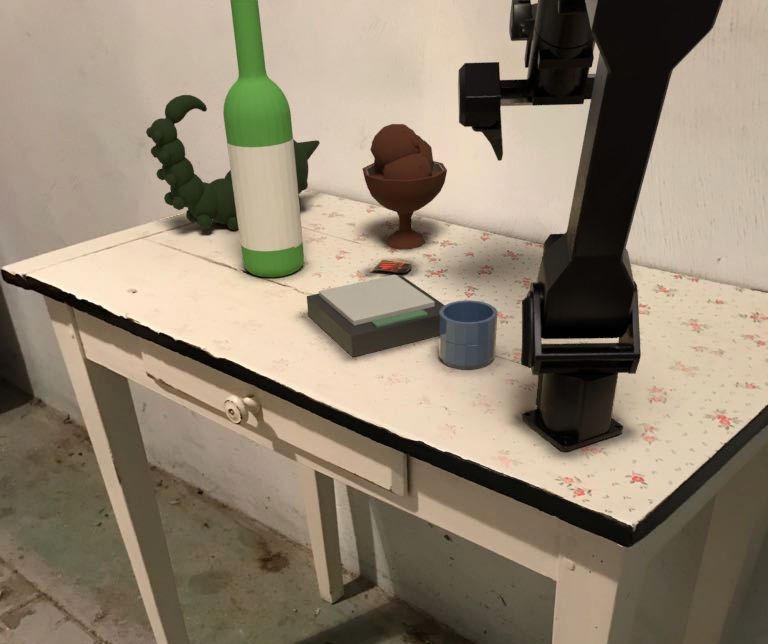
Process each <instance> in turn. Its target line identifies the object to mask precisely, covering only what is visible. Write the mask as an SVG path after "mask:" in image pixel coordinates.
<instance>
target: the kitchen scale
mask: <svg viewBox="0 0 768 644" xmlns="http://www.w3.org/2000/svg"><path fill="white" fill-rule="evenodd" d="M306 305H307V315H308V317H309V318H310V319H311V320H312V321H313V322H314V323H315V324H317V325H318V326H319V327H320V328H321V329H322V330H323V331H324V332H325V333H326V334H327V335H328V336H330V338H332V339H333V340H334V341H335V342H336V343H337V344H338V345H339V346H340V347H342V349H344V350H345V351H346V353H348V354H349V356H351V357H352V358H355V357H359V356H363V355H367V354H370V353H374V352H378V351H383V350H387V349H390V348H395V347H398V346H402V345H406V344H410V343H414V342H418V341H422V340H427V339H430V338H435V337H439V311H440V309H441V308H442V307H443V306H445V305H446V304H444V303H442V302H441V301H440V300H438V299H437V298H435V297H434V296H432V295H431V294H429V293H428V292H426V291H425V290H424V289H422V288H420V287H419V286H417V285H416V284H415V283H414V282H412V281H410V280H409V279H408V278H406V277H405V276H403V275H397V274H391V275H387V276H382V277H378V278H377V277H376V278H372V279H367V280H364V281H363V280H362V281H359V282H354V283H350V284H345V285H341V286H336V287H332V288H326V289H323V290H319V291H318V293H314V294H311V295H306Z"/></svg>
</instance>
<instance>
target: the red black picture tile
mask: <svg viewBox="0 0 768 644" xmlns="http://www.w3.org/2000/svg"><path fill="white" fill-rule="evenodd" d="M373 265H374V266H373V267H372V268H369V269H370V270H369V273H370V274H371V273H372V272H373V271H374V270H375V271H384V272H389V273H388V274H391V273H390V272H392V273H404V274H406V273H407V272H409V270H411V268H412V263H411V262H408V260H404V259H395V260H394V259H387V258H381V259H380V260H379V261H377V263H374V264H373Z"/></svg>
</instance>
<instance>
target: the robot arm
mask: <svg viewBox="0 0 768 644" xmlns="http://www.w3.org/2000/svg"><path fill="white" fill-rule="evenodd" d="M723 2H724V0H537V2H536V3H532V1H531V0H511V5H510V13H509V24H508V25H509V26H508V32H509V39H510V41H511V42H520V41H526V44H525V51H524V59H523V60H524V68H525V69H527V72H526V73H527V74H526V78H523V79H501V76H500V75H501V73H500V61H487V62H486V61H483V62H464V63H463V65H461V67H460V68H459V69H458V72H457V73H458V75H457V99H458V100H457V101H458V103H457V104H458V124H460V125H461V126H463V127H464V128H471V130H472V131H473V132H476V133H482V135H483V136H484V137H485V139H486V140H487V141H488V143H489V145H490V146H491V148H492V150H493V152H494V155H495V157H496V160H497V161H499V162H500V161H502V160H503V155H504V146H503V145H504V143H503V127H502V126H503V125H502V113H501V112H502V111H501V109H502V107H515V106H516V107H519V106H532V107H533V106H569V105H584V103H585V100H590V103H589V107H588V113H587V119H586V124H585V130H584V135H583V142H582V148H581V152H580V156H579V157H580V158H579V162H578V169H577V173H576V180H575V184H574V190H573V196H572V201H571V206H570V213H569V218H568V223H567V227H566V231H565V233H549V235H548V237H547V238H546V239H545V240H544V243H543V249H542V255H541V259H540V265H539V269H538V274H537V279H536V282H534V281H533V282H530V283H529V288H528V291H527V293H526V296H525V297H524V299H523V300H522V301H521V353H520V354H521V355H520V364H521V366H523V367H526V368H528V369H530V372H531V375H532V376H537V385H536V386H537V387H536V395H535V396H536V397H535V406H536V408H534V409H531V410H528V411H524V412H522V414H521V419H522V421H523V422H524V423H526V424H527V425H528V426H530V427H531V428H533V429H534V430H535V431H536V432H538V433H539V434H540V435H541V436H543V437H544V438H545V439H546V440H548V441H549V442H550V443H551V444H553V445H554V446H555V447H556V448H558V449H559V450H561V451H564V452H566V451H567V452H568V451H571V450H575V449H577V448H580V447H583V446H587V445H589V444H592V443H595V442H599V441H602V440H605V439H608V438H611V437H614V436H617V435H620V434H623V432H624V425H623V424H621V423H620V422H619V421H617V420H615V419H614V418H613V417H612V415H613V409H614V402H615V397H616V390H617V385H618V378H619V374H626V373H627V374H628V375H632V374H633V375H635V374H636V372H637V371H638V367H639V364H640V361H641V356H642V355H641V354H642V353H641V333H640V331H641V330H640V329H641V328H640V312H639V309H640V308H639V293H638V292H639V291H638V290H639V289H638V285H637V282H636V281H635V280H634V275H633V270H632V265H631V264H632V263H631V260H630V255H629V251H628V249H627V244H628V240H629V236H630V233H631V229H632V225H633V221H634V218H635V214H636V210H637V206H638V203H639V198H640V194H641V191H642V188H643V183H644V180H645V176H646V172H647V169H648V164H649V160H650V157H651V154H652V149H653V145H654V142H655V138H656V134H657V130H658V127H659V122H660V118H661V116H662V111H663V107H664V104H665V100H666V97H667V93H668V89H669V85H670V81H671V77H672V74H673V71H674V69H676V67H677V66H678V65H679V64H680V63H682V61H683V60H684V59H685V58H686V57H687V56H688V55H689V54H690V53H691V52H692V51H693V50H694V49H695V48H696V47H697V46H698V45H699V44H700V43H701V42H702V41H703V40H704V39H705V37H706V36H707V35H708V34H709V33H710V32H711V31H712V30H713V28H714V26H715V24H716V22H717V18H718V15H719V13H720V10H721V7H722V4H723ZM595 46H597V49H598V52H599V53H598V59H597V65H596V70H595V73H590V69H591V68H592V67H593V64H594V60H595V56H594V51H595ZM578 339H579V340H580V339H582V340H583V339H584V340H585V339H593V340H594V339H618V342H579V343H578V342H577V343H574V342H572V343H569V342H568V343H542V340H578Z"/></svg>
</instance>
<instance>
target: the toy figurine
mask: <svg viewBox="0 0 768 644" xmlns="http://www.w3.org/2000/svg"><path fill="white" fill-rule="evenodd" d="M193 110H199V111H202V112H205V113H206V112H207V110H208V108H207V105H206V104H205V102H203V101H202V100H201V99H200V98H198V97H196V96H194V95H192V94H181V95H178V96H175V97H173V98H172V99H171V100H169V101H168V102H167V104H166V105H165V109H164V116H165V118H161V117H160V118H157V119H156V120H154V121H153V122H152V123H151V124H150V126H149V127H147V128H146V130H145V131H146V132H145V133H146V135H147V137H148V138H149V139H151V140H152V142H153V143H154V144H155V145H153V147H152V148H150V154H151V155H152V157H153V158H155V159H157V160H158V162H159V163H160V164H161V165H162V166H161V167H160V168H159V169H157V171H156V178H157V179H159V180H160V181H165V182H166V184H167V185H169V187H170V188H169V189H170V190H169V191H168V192H167V193H165V194H164V197H163V199H164V202H165V204H166V205H169V206H170V207H172V208H174V209H175V210H177V211H181V210H183V209H185V208H187V210H186V212H185V213H186V215H185V217H186V218H187V221H189V222H190V223H196V224H197V225H198V226H199V227H200V228H201V229H204V230H209V228H211V227H212V225H213V222H215V223H217V224H221V225H226V227H227V228H228V229H229V230H232V231H236V230H239V228H238V221H237V214H236V206H235V199H234V191H233V184H232V177H231V169H229V171H228V172H226V174H225V176H224V178H223V177H221V178H217V179H214V180H212V181H211V182H203V180H202V179H201V177H199V176H198V174H196V173H195V169H194V166H193V164H192V162H191V161H190V160H189V159H188V158H187V157H186V148H185V145H184V143H183V142H182V140H181V139H179V138H178V130H177V127H176V124H179V123H180V122H181V121H182V120H184V118H185V117H186V115H187V114H188V113H189V112H190V111H193ZM293 142H294V153H295V163H296V174H297V185H298V196H299V206H301V205H302V199H301V197H300V194H301V193H302V192H303V191H306V190H307V189H308V187H309V183H308V178H309V159H310V158H311V157H312V155H313V154H314V153H315V151H316V150H317V149H318V147H319V146H320V140H316V139H315V140H308V141H300V142H297V141H296V140H295V139H294V138H293Z"/></svg>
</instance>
